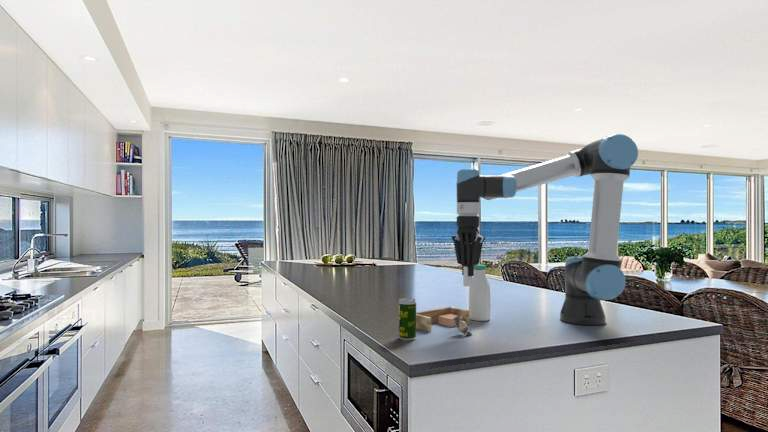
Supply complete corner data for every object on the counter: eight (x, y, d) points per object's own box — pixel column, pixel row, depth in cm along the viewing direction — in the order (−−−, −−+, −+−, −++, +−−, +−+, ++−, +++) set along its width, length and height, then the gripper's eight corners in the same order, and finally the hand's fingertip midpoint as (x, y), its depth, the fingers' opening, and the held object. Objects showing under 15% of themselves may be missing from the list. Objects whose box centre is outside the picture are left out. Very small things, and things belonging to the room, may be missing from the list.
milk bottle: (490, 322, 165) (490, 266, 165) (468, 321, 167) (468, 265, 167) (490, 317, 173) (490, 264, 173) (469, 316, 174) (469, 263, 174)
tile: (462, 325, 161) (462, 316, 161) (450, 327, 158) (450, 319, 158) (450, 322, 166) (450, 313, 166) (438, 324, 162) (438, 316, 162)
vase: (448, 334, 147) (449, 315, 148) (459, 333, 151) (460, 314, 151) (462, 337, 143) (462, 318, 144) (472, 336, 147) (473, 317, 147)
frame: (469, 323, 163) (469, 310, 163) (428, 331, 151) (428, 318, 151) (450, 318, 170) (450, 306, 170) (409, 326, 158) (409, 313, 158)
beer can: (405, 335, 146) (405, 297, 146) (419, 338, 143) (419, 299, 143) (395, 338, 142) (395, 299, 142) (409, 341, 138) (409, 301, 139)
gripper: (446, 215, 158) (445, 284, 158) (475, 215, 148) (475, 289, 147) (461, 215, 162) (461, 282, 162) (490, 215, 152) (490, 287, 152)
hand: (467, 285), depth 155 cm, fingers closed
